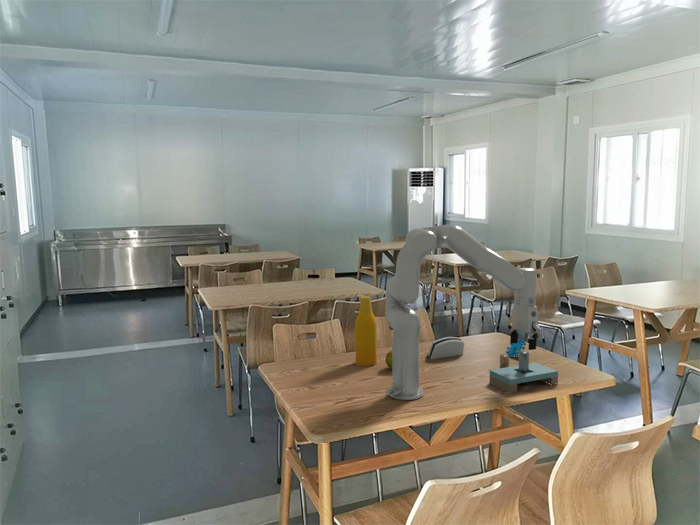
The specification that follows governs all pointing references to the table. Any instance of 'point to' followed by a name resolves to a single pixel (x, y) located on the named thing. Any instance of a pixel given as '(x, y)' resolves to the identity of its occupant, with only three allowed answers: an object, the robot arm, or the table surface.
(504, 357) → the short pin
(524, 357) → the tall pin
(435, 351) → the napkin holder
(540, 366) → the hole bridge
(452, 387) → the table surface
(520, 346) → the gear
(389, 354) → the fruit
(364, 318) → the beer bottle
